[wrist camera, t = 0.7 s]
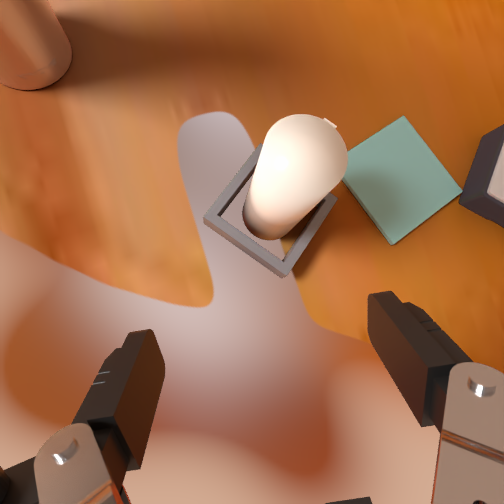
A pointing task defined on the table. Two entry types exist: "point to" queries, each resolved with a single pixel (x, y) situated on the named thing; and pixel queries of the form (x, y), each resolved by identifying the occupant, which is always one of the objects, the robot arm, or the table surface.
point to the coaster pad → (398, 179)
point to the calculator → (487, 179)
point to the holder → (247, 244)
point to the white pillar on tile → (293, 174)
